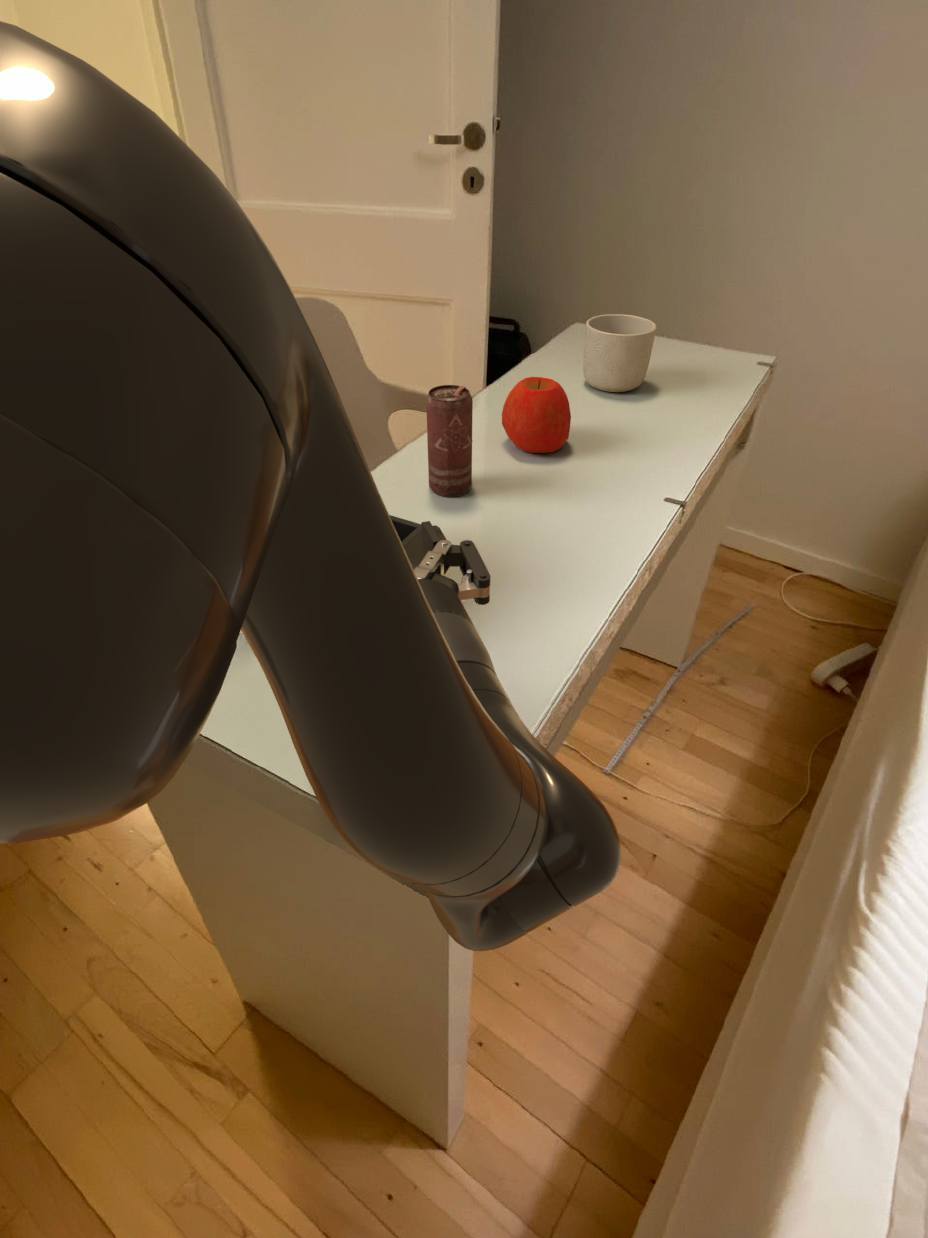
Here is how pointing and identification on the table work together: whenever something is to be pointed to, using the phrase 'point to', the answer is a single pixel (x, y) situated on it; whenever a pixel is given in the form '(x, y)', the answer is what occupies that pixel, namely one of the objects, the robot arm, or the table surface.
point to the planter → (617, 351)
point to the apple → (537, 415)
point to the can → (449, 440)
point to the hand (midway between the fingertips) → (378, 538)
